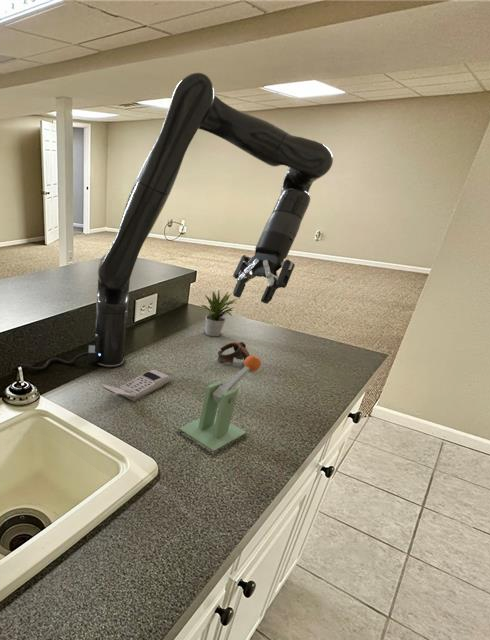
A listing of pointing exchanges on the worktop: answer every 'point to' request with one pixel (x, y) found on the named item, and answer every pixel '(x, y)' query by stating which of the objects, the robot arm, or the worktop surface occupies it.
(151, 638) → the worktop surface
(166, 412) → the worktop surface
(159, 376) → the mobile phone
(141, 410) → the worktop surface
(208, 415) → the power switch
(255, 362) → the switch lever
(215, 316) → the house plant
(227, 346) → the brown curved piece
